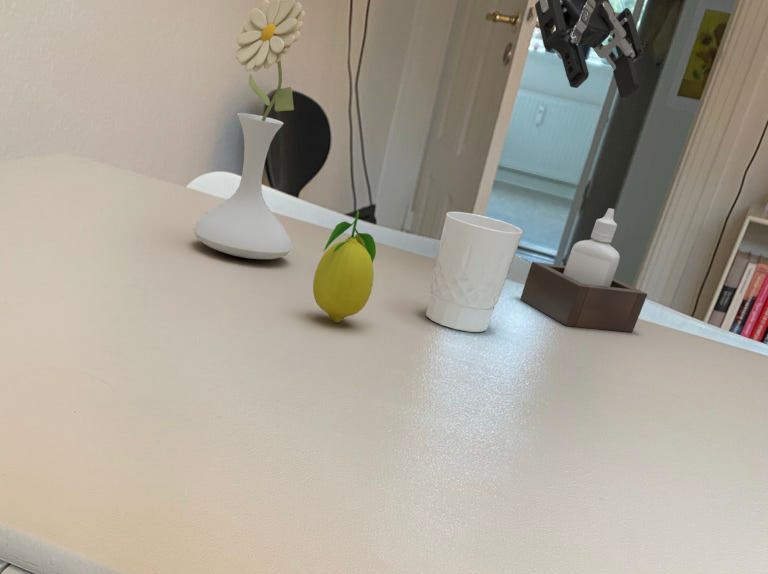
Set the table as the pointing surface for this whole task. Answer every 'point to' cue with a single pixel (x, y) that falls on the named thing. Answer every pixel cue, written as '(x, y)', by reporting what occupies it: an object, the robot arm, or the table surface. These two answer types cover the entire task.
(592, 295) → the holder
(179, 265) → the table surface
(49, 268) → the table surface
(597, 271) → the eye dropper bottle
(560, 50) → the robot arm
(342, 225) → the lemon
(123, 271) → the table surface
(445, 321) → the white cup
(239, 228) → the flower in vase
